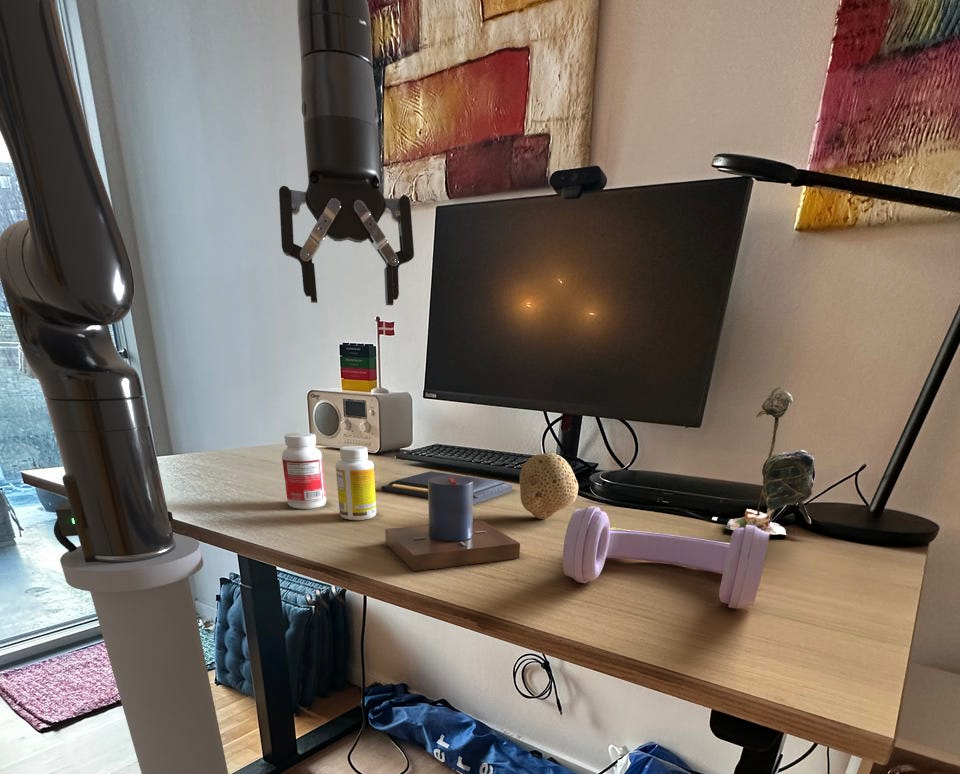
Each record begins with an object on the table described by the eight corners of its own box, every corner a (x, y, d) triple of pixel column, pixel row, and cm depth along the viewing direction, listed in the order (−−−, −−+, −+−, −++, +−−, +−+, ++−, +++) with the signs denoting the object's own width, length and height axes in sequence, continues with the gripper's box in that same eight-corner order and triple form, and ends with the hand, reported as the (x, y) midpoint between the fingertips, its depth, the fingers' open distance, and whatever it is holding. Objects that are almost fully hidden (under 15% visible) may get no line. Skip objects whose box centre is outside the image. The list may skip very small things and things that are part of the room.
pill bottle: (299, 499, 102) (292, 431, 97) (333, 502, 101) (327, 433, 96) (280, 507, 96) (271, 436, 92) (315, 511, 95) (308, 438, 90)
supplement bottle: (382, 514, 94) (379, 446, 90) (365, 522, 89) (360, 451, 85) (351, 510, 96) (346, 444, 91) (332, 518, 91) (326, 449, 87)
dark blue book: (515, 480, 111) (470, 494, 99) (515, 490, 112) (470, 506, 100) (429, 468, 121) (378, 479, 109) (429, 477, 121) (379, 490, 110)
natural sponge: (578, 514, 97) (584, 450, 92) (570, 528, 89) (577, 459, 85) (523, 509, 99) (526, 446, 94) (511, 523, 91) (514, 455, 87)
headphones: (562, 520, 62) (609, 466, 78) (559, 603, 68) (603, 537, 83) (768, 547, 55) (775, 481, 70) (746, 637, 61) (757, 558, 76)
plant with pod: (800, 546, 83) (841, 390, 75) (717, 531, 89) (746, 386, 81) (810, 533, 90) (849, 388, 81) (731, 520, 95) (760, 384, 87)
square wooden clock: (414, 571, 71) (413, 553, 70) (385, 543, 80) (384, 527, 79) (519, 558, 76) (520, 541, 75) (480, 533, 86) (481, 518, 85)
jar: (426, 530, 79) (425, 473, 76) (468, 528, 80) (469, 473, 77) (431, 542, 74) (430, 482, 71) (476, 540, 75) (477, 481, 72)
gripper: (404, 141, 67) (409, 308, 74) (270, 128, 64) (288, 303, 71) (415, 120, 60) (418, 304, 67) (266, 103, 57) (286, 299, 64)
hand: (352, 303), depth 69 cm, fingers open, 8 cm apart
